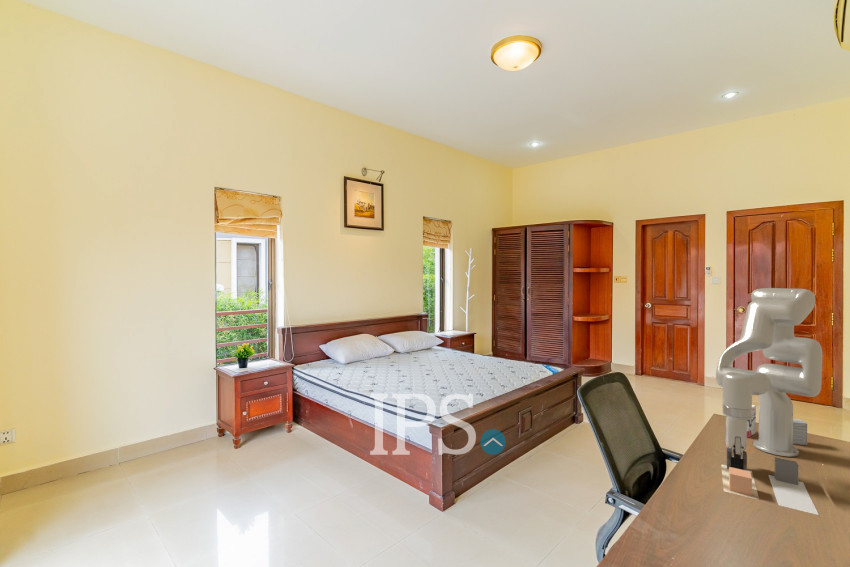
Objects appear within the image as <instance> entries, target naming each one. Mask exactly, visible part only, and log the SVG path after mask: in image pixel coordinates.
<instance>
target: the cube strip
mask: <svg viewBox="0 0 850 567" xmlns="http://www.w3.org/2000/svg"><path fill="white" fill-rule="evenodd" d="M734 451H735V450H734ZM731 456H732V449H731V447H729V448H728V447H726V464H720V467H721V476H722V478H721V479H722V486H723V492H726V493H730V494H734V495H736V496H737V495H738V496H741V497H746V498H749V499H753V500H757V501H760V497H759V494H758V493H759V492H758V489H757V487H756V481H755V476H754V474H753V471H752V470H749V469H748V453H747V451H746V450H744V451H743V470H746V471H750V472H751V477H752V496H751V495H746V494H742V493H738V492H734V491H730V487H729V467H731Z"/></svg>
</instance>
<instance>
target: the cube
mask: <svg viewBox="0 0 850 567" xmlns="http://www.w3.org/2000/svg"><path fill="white" fill-rule="evenodd" d="M750 471H751V470H750ZM750 471H746V470H741V469H737V468H732V467H729V487H730V491H734V492H738V493H742V494H746V495H751V496H752V477H751V472H750Z"/></svg>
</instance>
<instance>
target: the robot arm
mask: <svg viewBox="0 0 850 567" xmlns="http://www.w3.org/2000/svg"><path fill="white" fill-rule="evenodd" d="M750 299H751V301H750V302H749V303H748V304H747V307H746V312H745V317H744V319H743V320H744V321H743V324H742V329H741V332H740V337H739V339H738V340H736V341H735V342H733V343H731V344H730V345H729V346H727V347H726V349H725V350H724V351H723V352H722V353H721V355H720V356H719V357H718V358H719V359H718V362H717V363H718V364H717V365H716V366H717V367H716V372H715V380H716V383H717V384H718V386H720V387H721V388H722V415H724V416H725V445H726V448H731V449H732V456H731V467H732V468H737V469H741V470H743V451H746V449H747V439H748V438H747V420H750V419H752V405H753V396H755V395H756V396H758V439H754V440H753V441H752V442H753V443H752V444H753V446H754V448H756V449H758V450H759V451H762V452H765V453H769V454H771V455H775V456H781V457H792V458H793V457H797V456H799V453H800V451H799V449H798V448H796V447H795V446H794V444H793V419H794V404H793V402H792V400H791V398H790V397H789V395H787V393H788V394H792V395H796V396H797V395H798V396H803V397H810V398H811V397H812V398H813V397H817V396H818V395H819V394H820V392H821V391H822V383H823V381H822V378H823V377H822V376H823V375H822V374H823V349H822V346H821V344H820V342H819V341H818V340H816V339H813V338H809V337H799V336H795V326H798V325H800V324H802V322H804V320H806V319H807V317H808V316H809V315H810V313H812V311H813V309H814V308H815V305H816V295H815V294H814V292H813V291H812V290H810V289H806V288H783V287H781V288H779V287H764V288H756V289H754V290H753V291H752V292H751V295H750ZM756 351H762V354H763V356H764V357H765V358H766V359H769V360H771V361H772V360H773V361H777V362H783V363H789V364H797V365H800V366H801V367H797V366H795V367H794V366H790V365H785V364H784V365H783V364H776V363H763V364H760V365H758V367H757V368H756V370H749V369H745V368H739V367H734V366H733V363H734V361H735V360H736V359H737V358H739V357H740V356H743V355H745V354H749V353H752V352H756ZM732 366H733V367H732ZM734 450H735V451H734Z"/></svg>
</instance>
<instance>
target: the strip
mask: <svg viewBox="0 0 850 567" xmlns="http://www.w3.org/2000/svg"><path fill="white" fill-rule="evenodd" d="M768 478H769V481H770V484H771V487H772V491H773V493H774V496H775V500H776V502H777V504H778V506H780V507H784V508H788V509H792V510H796V511H801V512H804V513H809V514H812V515H816V516H819V513H818V510H817V509H816V506H815V504H814V501H813V500H812V497H811V496H810V493H809V492H808V490H807V488H806V485H805V483H804V482H803V481H799V464H798V462H797V461H795V460H790V459H785V458H780V457H774V475H770V474H768Z"/></svg>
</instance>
